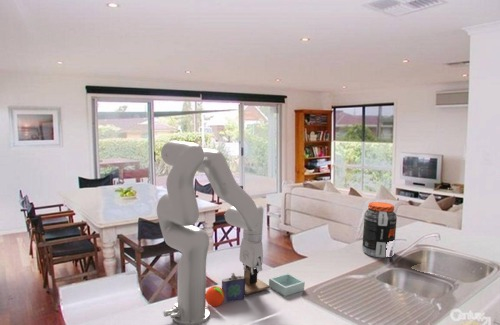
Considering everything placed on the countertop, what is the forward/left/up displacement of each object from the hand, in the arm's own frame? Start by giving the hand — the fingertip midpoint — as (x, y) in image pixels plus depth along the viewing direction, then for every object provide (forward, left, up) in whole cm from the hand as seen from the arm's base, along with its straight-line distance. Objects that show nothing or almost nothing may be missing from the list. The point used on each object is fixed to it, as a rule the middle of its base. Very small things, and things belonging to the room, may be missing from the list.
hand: (250, 280), depth 150 cm
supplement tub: (+80, -1, -4) cm, 80 cm away
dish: (+12, -8, -4) cm, 15 cm away
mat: (+1, 0, -4) cm, 4 cm away
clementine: (-18, -4, -4) cm, 19 cm away
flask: (-11, -4, -4) cm, 12 cm away
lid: (0, 0, -2) cm, 2 cm away
